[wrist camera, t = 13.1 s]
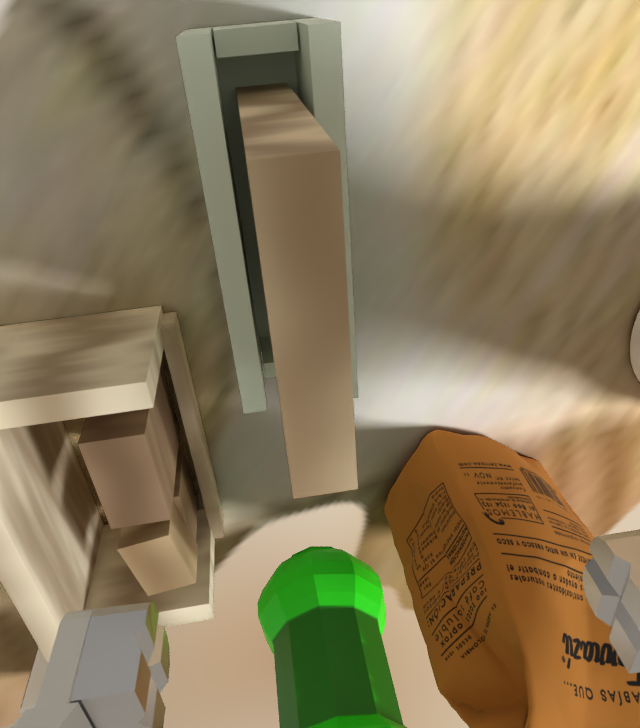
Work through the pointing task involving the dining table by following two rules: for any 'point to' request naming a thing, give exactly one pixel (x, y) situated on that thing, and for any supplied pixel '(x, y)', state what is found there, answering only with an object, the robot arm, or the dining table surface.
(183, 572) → the offcut top
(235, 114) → the stand
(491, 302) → the dining table surface
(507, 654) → the coffee package
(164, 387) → the offcut tall
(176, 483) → the offcut low
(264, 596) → the plastic bottle
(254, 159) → the light wood flat panel
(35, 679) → the medicine bottle
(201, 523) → the box
